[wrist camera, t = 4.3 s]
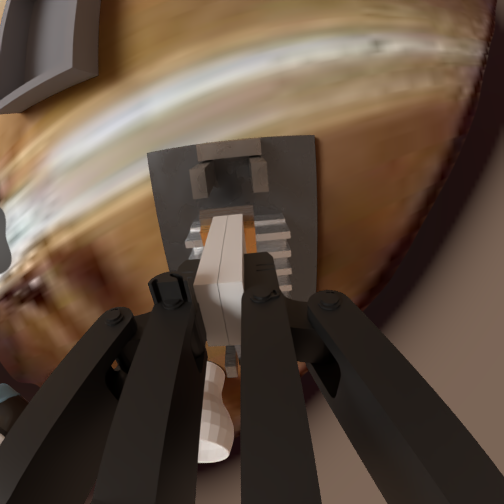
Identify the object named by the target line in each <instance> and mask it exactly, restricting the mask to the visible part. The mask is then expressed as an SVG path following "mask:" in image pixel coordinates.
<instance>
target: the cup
mask: <svg viewBox="0 0 504 504" xmlns="http://www.w3.org/2000/svg"><path fill="white" fill-rule="evenodd" d="M224 380H225V373H224V371H223V370H222V369H221V368H220V367H219V366H218V365H216V364H214V363H212V362H209V361H207V367H206V376H205V386H204V396H203V406H202V417H201V428H200V439H199V452H198V463H211V462H218V461H221V460H224V459H226V458H227V457H228V456H229V454H230V450H231V447H232V443H233V439H234V430H233V424H232V421H231V418H230V415H229V413H228V411H227V409H226V408H225V406H224V404H223V401H222V394H221V393H222V389H223V385H224Z"/></svg>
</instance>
